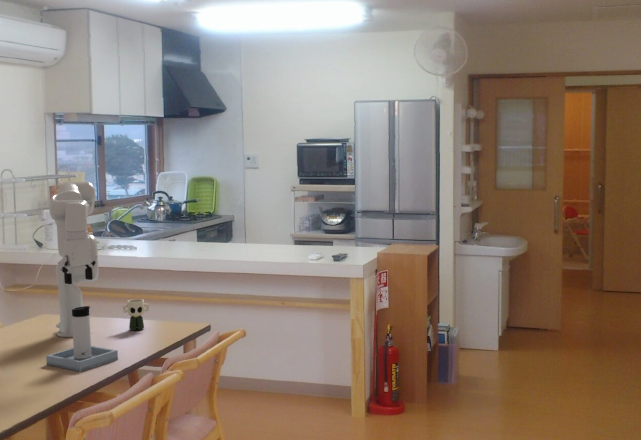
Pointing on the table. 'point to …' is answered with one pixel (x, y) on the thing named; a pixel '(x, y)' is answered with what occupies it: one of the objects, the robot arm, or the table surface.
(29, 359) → the table surface
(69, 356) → the tray
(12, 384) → the table surface
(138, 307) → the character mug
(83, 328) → the travel mug
